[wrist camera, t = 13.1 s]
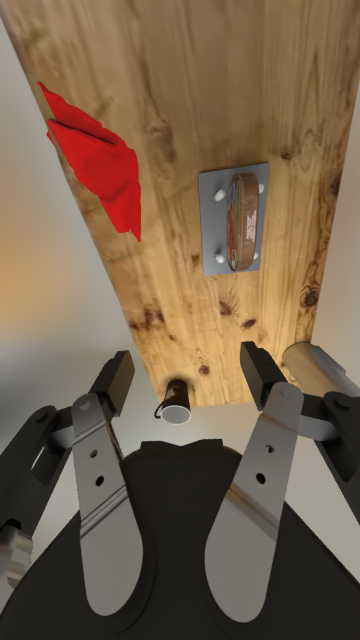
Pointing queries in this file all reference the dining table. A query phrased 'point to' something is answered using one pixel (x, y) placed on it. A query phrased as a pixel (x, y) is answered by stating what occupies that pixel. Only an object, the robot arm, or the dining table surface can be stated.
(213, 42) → the dining table surface
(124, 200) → the cloth
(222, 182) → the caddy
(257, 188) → the tin
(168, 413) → the coffee mug
